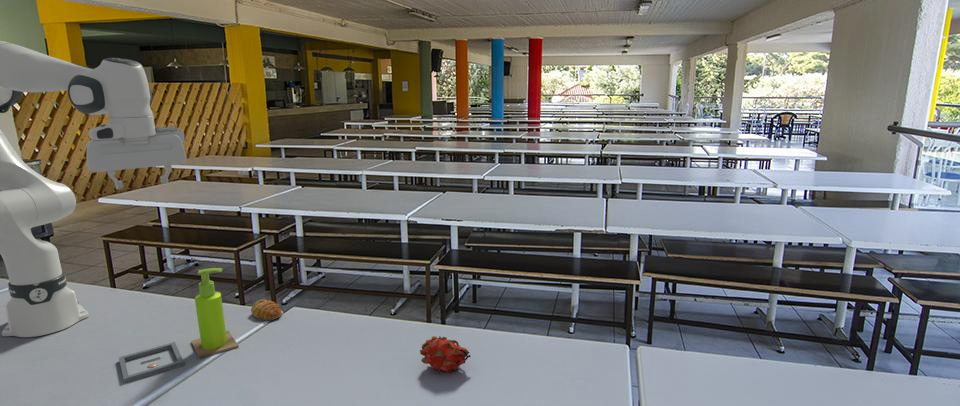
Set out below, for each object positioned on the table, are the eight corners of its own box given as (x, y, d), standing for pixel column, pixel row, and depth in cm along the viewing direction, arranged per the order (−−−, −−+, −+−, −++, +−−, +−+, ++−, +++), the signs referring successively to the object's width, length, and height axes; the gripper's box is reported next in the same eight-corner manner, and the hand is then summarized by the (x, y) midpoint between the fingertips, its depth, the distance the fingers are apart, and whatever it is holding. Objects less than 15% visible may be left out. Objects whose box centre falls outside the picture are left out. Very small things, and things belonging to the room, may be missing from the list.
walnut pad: (191, 342, 137) (191, 341, 137) (228, 332, 142) (228, 330, 142) (199, 358, 129) (199, 356, 129) (238, 346, 135) (238, 345, 134)
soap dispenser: (230, 346, 134) (221, 271, 129) (200, 351, 132) (189, 275, 127) (232, 335, 139) (222, 264, 135) (203, 340, 137) (192, 267, 132)
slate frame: (119, 361, 128) (118, 357, 128) (175, 345, 136) (174, 341, 135) (124, 382, 119) (123, 379, 119) (184, 365, 126) (183, 361, 126)
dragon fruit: (417, 370, 126) (466, 380, 125) (412, 367, 118) (464, 378, 117) (425, 334, 129) (473, 344, 128) (421, 329, 122) (472, 339, 120)
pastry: (288, 315, 153) (287, 303, 152) (267, 324, 147) (266, 312, 146) (269, 307, 158) (268, 295, 157) (248, 316, 152) (246, 303, 152)
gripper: (180, 125, 134) (188, 178, 138) (80, 130, 122) (91, 189, 125) (185, 127, 129) (192, 182, 133) (81, 133, 117) (93, 194, 121)
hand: (142, 185), depth 129 cm, fingers open, 8 cm apart
